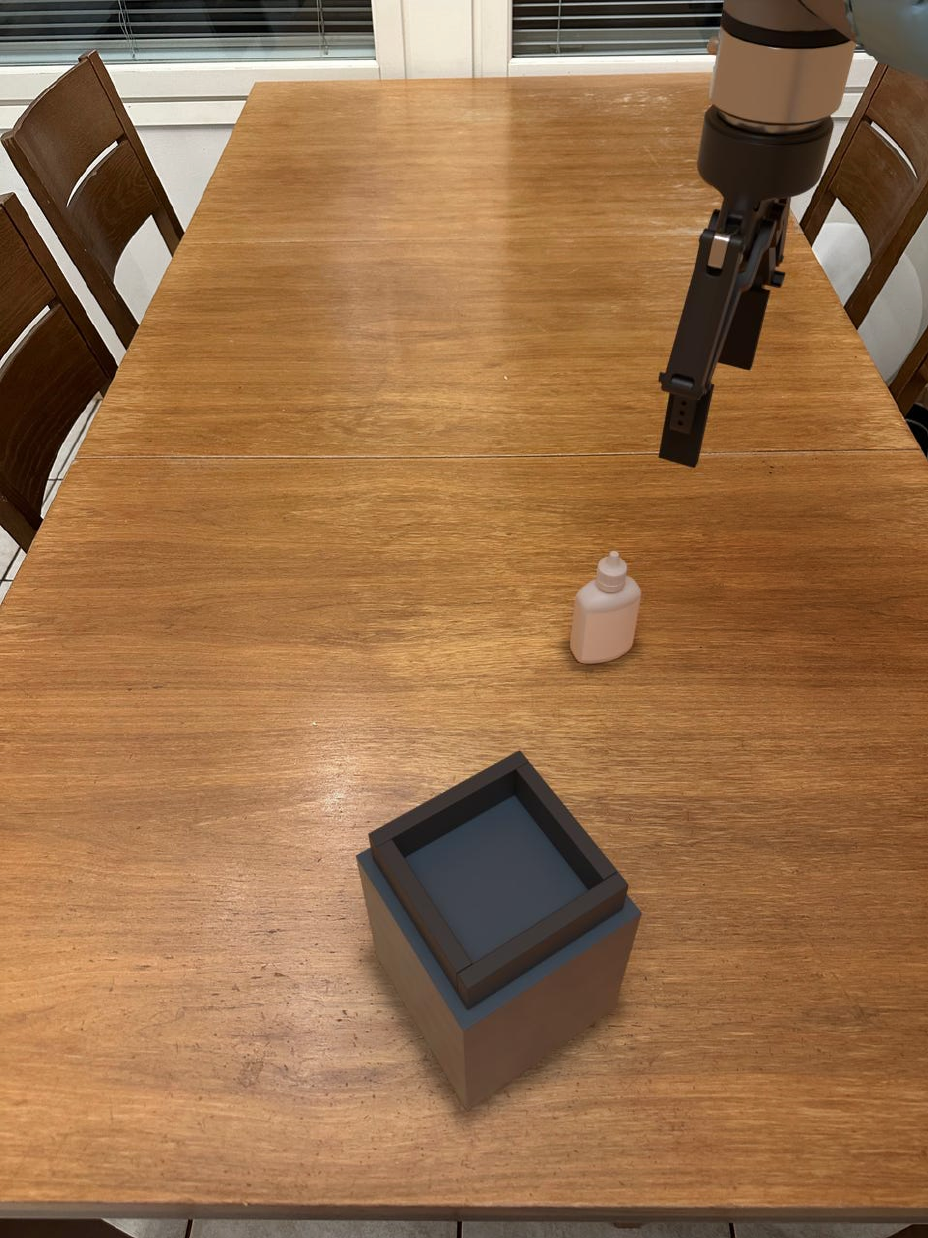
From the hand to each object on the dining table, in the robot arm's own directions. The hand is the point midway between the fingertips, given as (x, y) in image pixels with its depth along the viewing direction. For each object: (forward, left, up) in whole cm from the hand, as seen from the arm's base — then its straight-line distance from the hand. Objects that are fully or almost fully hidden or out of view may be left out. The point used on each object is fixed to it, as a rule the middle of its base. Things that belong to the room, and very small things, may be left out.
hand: (707, 409), depth 72 cm
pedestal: (-20, +33, -23) cm, 45 cm away
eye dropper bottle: (0, +8, -23) cm, 25 cm away
